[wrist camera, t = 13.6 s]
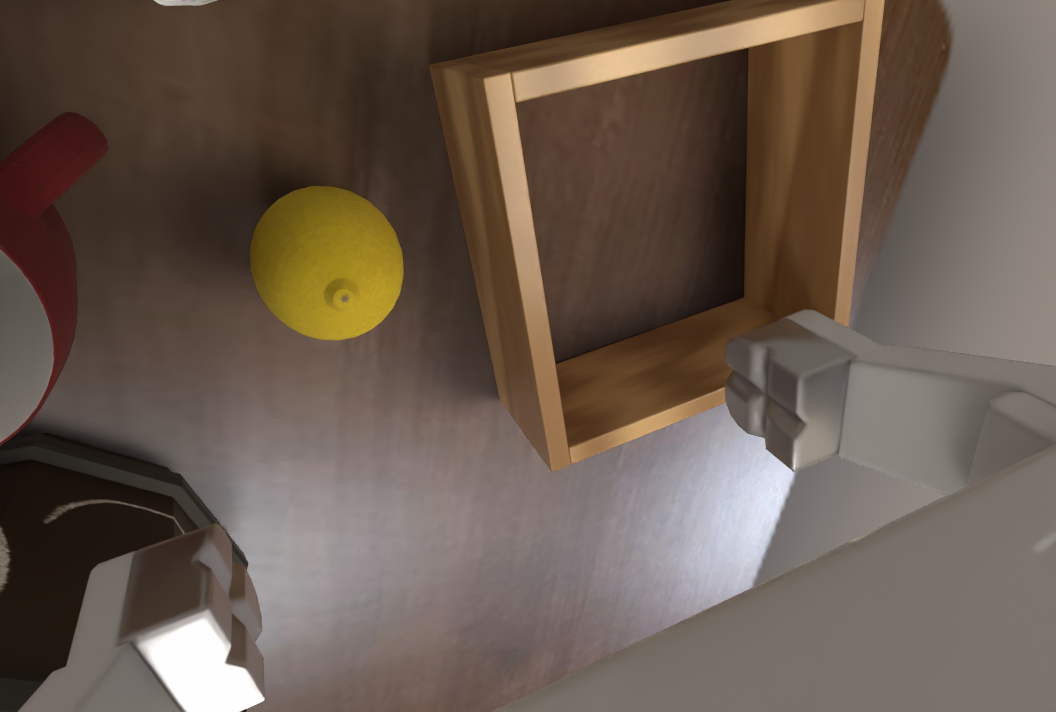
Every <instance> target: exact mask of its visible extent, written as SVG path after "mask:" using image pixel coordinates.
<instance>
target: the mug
mask: <svg viewBox="0 0 1056 712" xmlns="http://www.w3.org/2000/svg"><path fill="white" fill-rule="evenodd" d="M107 150H108V141H107V139H106V137H105V136H104V134H103V132H102V131H101V130H100V129H99V128H98V127H97V126H96V125H95V124H94V123H92V122H91V121H90V120H88V119H87V118H86V117H84V116H82V115H79V114H77V113H73V112H66V113H64V114H61V115H59V116H58V117H56V118H55V119H53V120H52V121H51V122H49V123H48V124H47V125H45V126H44V127H43V128H42V129H40V130H39V131H38V132H37V133H35V134H34V135H33V136H32V137H30V138H29V139H28V140H27V141H26V142H24V143H23V144H22V145H21V146H20V147H18V148H17V149H16V150H15V151H14V152H12V153H11V154H10V155H9V156H8V157H7V158H5V159H4V160H3V161H2V162H1V163H0V446H1V445H2V444H4V443H5V442H7V441H8V440H9V439H11V438H12V437H13V436H15V435H16V434H17V433H18V432H19V431H21V430H22V429H23V428H24V427H25V426H26V425H27V424H28V423H29V422H30V421H31V420H32V418H33V417H34V416H35V415H36V413H37V412H38V411H39V410H40V408H41V407H42V405H43V404H44V402H45V400H46V399H47V397H48V395H49V393H50V392H51V390H52V388H53V386H54V384H55V383H56V381H57V379H58V377H59V375H60V373H61V371H62V369H63V366H64V364H65V362H66V360H67V357H68V355H69V352H70V349H71V346H72V342H73V339H74V335H75V329H76V323H77V280H76V262H75V254H74V249H73V245H72V241H71V238H70V235H69V233H68V231H67V228H66V226H65V224H64V222H63V221H62V219H61V217H60V215H59V214H58V212H57V210H56V209H55V207H54V206H53V203H54V202H55V201H56V200H57V199H58V198H59V197H60V196H62V195H63V194H64V193H65V192H66V191H67V190H68V189H69V188H70V187H71V186H73V185H74V184H75V183H76V182H77V181H78V180H79V179H80V178H81V177H82V176H83V175H84V174H85V173H87V172H88V171H89V170H90V169H91V168H92V167H93V166H94V165H95V164H96V163H97V162H98V161H99V160H100V159H101V158H102V157H103V156H104V155H105V153H106V152H107Z"/></svg>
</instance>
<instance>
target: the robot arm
mask: <svg viewBox="0 0 1056 712" xmlns="http://www.w3.org/2000/svg"><path fill="white" fill-rule="evenodd" d="M725 362H726V363H727V364H728V365H729V366H730V367H731V368H732V371H731V373H730V375H729V376H728V378H727V380H726V382H725V401H726V404H727V406H728V409H729V411H730V414H731V416H732V417H733V419H734V420H735V421H736V423H737V424H738V425H739V426H740V427H741V428H742V429H743V430H744V431H745V432H747V433H748V434H751V435H755V436H759V437H763V438H765V444H766V449H767V450H768V451H769V452H770V453H772V454H773V455H774V456H775V457H777V458H778V459H779V460H780V461H781V462H783V463H784V464H785V465H786V466H787V467H789V468H790V469H791V470H792V471H793V472H796V471H798V470H801V469H803V468H805V467H808V466H811V465H813V464H816V463H818V462H821V461H823V460H826V459H828V458H831V457H833V456H836V455H838V454H839V457H840V458H843V459H846V460H848V461H851V462H854V463H857V464H860V465H863V466H866V467H868V468H871V469H874V470H877V471H880V472H882V473H885V474H888V475H891V476H894V477H897V478H899V479H902V480H905V481H908V482H911V483H914V484H917V485H919V486H922V487H925V488H928V489H931V490H934V491H936V492H939V493H942V494H945V495H947V496H945V497H943V498H941V499H939V500H936V501H934V502H932V503H930V504H928V505H926V506H924V507H922V508H920V509H917V510H915V511H913V512H911V513H909V514H907V515H905V516H903V517H901V518H898V519H896V520H894V521H892V522H890V523H888V524H886V525H884V526H882V527H879V528H877V529H875V530H873V531H871V532H869V533H867V534H865V535H863V536H860V537H858V538H856V539H854V540H852V541H850V542H848V543H846V544H844V545H841V546H839V547H838V548H835V549H833V550H831V551H829V552H827V553H825V554H822V555H820V556H818V557H816V558H814V559H812V560H810V561H808V562H806V563H803V564H801V565H799V566H797V567H795V568H793V569H791V570H789V571H787V572H784V573H782V574H780V575H778V576H776V577H774V578H772V579H770V580H768V581H766V582H763V583H761V584H759V585H757V586H755V587H753V588H751V589H749V590H746V591H744V592H742V593H740V594H738V595H736V596H734V597H732V598H730V599H727V600H725V601H723V602H721V603H719V604H717V605H715V606H713V607H711V608H709V609H706V610H704V611H702V612H700V613H698V614H696V615H694V616H692V617H690V618H687V619H685V620H683V621H681V622H679V623H677V624H675V625H673V626H671V627H668V628H666V629H664V630H662V631H660V632H658V633H656V634H654V635H652V636H649V637H647V638H645V639H643V640H641V641H639V642H637V643H635V644H633V645H631V646H628V647H626V648H624V649H622V650H620V651H618V652H616V653H614V654H612V655H609V656H607V657H605V658H603V659H601V660H599V661H597V662H595V663H593V664H590V665H588V666H586V667H584V668H582V669H580V670H578V671H576V672H574V673H571V674H569V675H567V676H565V677H563V678H561V679H559V680H557V681H555V682H553V683H550V684H548V685H546V686H544V687H542V688H540V689H538V690H536V691H534V692H531V693H529V694H527V695H525V696H523V697H521V698H519V699H517V700H515V701H512V702H510V703H508V704H506V705H504V706H502V707H500V708H498V709H496V710H493V711H491V712H1056V366H1051V365H1043V364H1036V363H1029V362H1021V361H1014V360H1007V359H999V358H992V357H984V356H977V355H970V354H963V353H955V352H948V351H941V350H933V349H926V348H919V347H911V346H903V345H896V344H890V345H888V346H885V347H884V346H882V345H880V344H878V343H876V342H874V341H872V340H871V339H869V338H867V337H865V336H863V335H861V334H859V333H857V332H855V331H853V330H851V329H849V328H848V327H846V326H844V325H842V324H840V323H838V322H836V321H834V320H832V319H830V318H828V317H826V316H825V315H823V314H821V313H819V312H817V311H815V310H807V309H804V310H802V311H799V312H796V313H794V314H791V315H789V316H786V317H784V318H781V319H779V321H776V322H774V323H771V324H768V325H765V326H763V327H760V328H757V329H754V330H752V331H749V332H746V333H744V334H741V335H738V336H735V337H733V338H730V339H728V342H727V344H726V347H725ZM261 632H262V622H261V612H260V607H259V603H258V598H257V594H256V591H255V588H254V586H253V583H252V581H251V578H250V576H249V574H248V572H247V571H246V569H245V567H244V566H243V565H240V564H238V563H235V562H233V561H232V543H231V541H230V540H229V538H228V536H227V535H226V533H225V531H224V530H223V528H222V527H221V526H220V525H218V524H216V523H215V524H212V525H209V526H206V527H203V528H200V529H198V530H195V531H192V532H189V533H186V534H183V535H180V536H177V537H174V538H171V539H168V540H165V541H162V542H159V543H156V544H153V545H150V546H147V547H144V548H141V549H139V550H138V551H133V552H130V553H128V554H125V555H122V556H119V557H116V558H113V559H111V560H108V561H105V562H102V563H99V564H98V565H97V566H96V567H95V568H94V569H93V570H92V571H91V573H90V576H89V579H88V583H87V587H86V591H85V595H84V599H83V603H82V606H81V610H80V614H79V618H78V622H77V626H76V630H75V634H74V637H73V641H72V645H71V649H70V653H69V657H68V661H67V664H66V667H64V668H61V669H59V670H56V671H54V672H52V673H51V674H50V675H49V677H48V678H47V679H46V680H45V681H44V682H43V683H42V685H41V686H40V687H39V688H38V689H37V690H36V691H35V692H34V694H33V695H32V696H31V697H30V698H29V699H28V700H27V702H26V703H25V704H24V705H23V706H22V707H21V708H20V710H19V711H18V712H241V711H243V710H245V709H247V708H249V707H251V706H254V705H256V704H258V703H260V702H262V701H264V700H265V690H264V663H263V656H262V655H261V653H260V651H259V649H258V648H257V646H256V644H255V641H256V640H257V638H258V637H259V635H260V633H261Z"/></svg>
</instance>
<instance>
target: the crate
mask: <svg viewBox="0 0 1056 712" xmlns="http://www.w3.org/2000/svg"><path fill="white" fill-rule="evenodd" d="M884 1H885V0H731V1H726V2H721V3H717V4H712V5H707V6H703V7H698V8H693V9H689V10H684V11H679V12H674V13H670V14H665V15H660V16H656V17H651V18H646V19H642V20H637V21H632V22H628V23H623V24H618V25H614V26H609V27H604V28H599V29H595V30H590V31H585V32H581V33H576V34H571V35H567V36H562V37H557V38H553V39H548V40H543V41H539V42H534V43H529V44H524V45H520V46H515V47H510V48H506V49H501V50H496V51H492V52H487V53H482V54H478V55H473V56H468V57H464V58H459V59H454V60H453V61H451V60H449V61H444V62H440V63H435V64H430V65H429V68H430V73H431V78H432V82H433V87H434V92H435V97H436V101H437V106H438V111H439V115H440V120H441V125H442V129H443V134H444V139H445V144H446V148H447V153H448V158H449V162H450V167H451V172H452V177H453V181H454V186H455V191H456V195H457V200H458V205H459V210H460V214H461V219H462V224H463V228H464V233H465V238H466V243H467V247H468V252H469V257H470V261H471V266H472V271H473V276H474V280H475V285H476V290H477V294H478V299H479V304H480V309H481V313H482V318H483V323H484V327H485V332H486V337H487V342H488V346H489V351H490V356H491V360H492V365H493V370H494V375H495V379H496V384H497V389H498V393H499V398H500V400H501V402H502V403H503V404H504V406H505V407H506V409H507V410H508V411H509V413H510V414H511V416H512V417H513V418H514V420H515V421H516V423H517V424H518V425H519V427H520V428H521V430H522V431H523V432H524V434H525V435H526V437H527V438H528V439H529V441H530V442H531V444H532V445H533V447H534V448H535V449H536V451H537V452H538V454H539V455H540V456H541V458H542V459H543V461H544V462H545V463H546V465H547V466H548V468H549V469H550V470H551V472H554V471H556V470H559V469H561V468H564V467H566V466H569V465H571V464H573V463H576V462H578V461H581V460H583V459H586V458H588V457H591V456H593V455H596V454H598V453H601V452H603V451H606V450H608V449H611V448H613V447H616V446H618V445H621V444H623V443H626V442H628V441H631V440H633V439H636V438H638V437H641V436H643V435H646V434H648V433H651V432H653V431H656V430H658V429H661V428H663V427H666V426H668V425H671V424H673V423H676V422H678V421H681V420H683V419H686V418H688V417H691V416H693V415H696V414H698V413H701V412H703V411H706V410H708V409H711V408H714V407H716V406H719V405H721V404H724V403H726V401H725V382H726V380H727V378H728V376H729V375H730V373H731V371H732V368H731V367H730V366H729V365H728V364H727V363H726V362H725V347H726V344H727V342H728V339H730V338H733V337H735V336H738V335H741V334H744V333H746V332H749V331H752V330H754V329H757V328H760V327H763V326H765V325H768V324H771V323H774V322H776V321H779V319H781V318H784V317H786V316H789V315H791V314H794V313H796V312H799V311H802V310H804V309H807V310H815V311H817V312H819V313H821V314H823V315H825V316H826V317H828V318H830V319H832V320H834V321H836V322H838V323H840V324H842V325H844V326H846V327H848V326H849V317H850V308H851V299H852V290H853V281H854V272H855V263H856V254H857V245H858V236H859V227H860V218H861V209H862V200H863V191H864V181H865V172H866V163H867V154H868V145H869V136H870V127H871V118H872V109H873V100H874V91H875V82H876V73H877V64H878V55H879V46H880V37H881V28H882V19H883V10H884ZM745 48H748V100H747V157H746V214H745V270H744V298H741V299H738V300H736V301H733V302H730V303H727V304H724V305H722V306H719V307H716V308H713V309H710V310H707V311H705V312H702V313H699V314H696V315H693V316H690V317H688V318H685V319H682V320H679V321H676V322H673V323H671V324H668V325H665V326H662V327H659V328H656V329H654V330H651V331H648V332H645V333H642V334H639V335H637V336H634V337H631V338H628V339H625V340H622V341H620V342H617V343H614V344H611V345H608V346H605V347H603V348H600V349H597V350H594V351H591V352H589V353H586V354H583V355H580V356H577V357H574V358H572V359H569V360H566V361H563V362H560V363H557V364H555V359H554V352H553V346H552V339H551V333H550V326H549V320H548V313H547V307H546V300H545V294H544V287H543V281H542V275H541V268H540V262H539V255H538V249H537V242H536V236H535V229H534V223H533V216H532V210H531V203H530V197H529V190H528V184H527V177H526V171H525V164H524V158H523V151H522V145H521V139H520V132H519V126H518V119H517V113H516V106H515V102H517V103H518V102H522V101H526V100H530V99H535V98H539V97H543V96H547V95H551V94H556V93H560V92H564V91H568V90H573V89H577V88H581V87H585V86H589V85H594V84H598V83H602V82H606V81H610V80H615V79H619V78H623V77H627V76H632V75H636V74H640V73H644V72H648V71H653V70H657V69H661V68H665V67H669V66H674V65H678V64H682V63H686V62H691V61H695V60H699V59H703V58H707V57H712V56H716V55H720V54H724V53H728V52H733V51H737V50H741V49H745Z"/></svg>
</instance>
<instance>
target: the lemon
mask: <svg viewBox="0 0 1056 712" xmlns="http://www.w3.org/2000/svg"><path fill="white" fill-rule="evenodd" d="M250 265H251V273H252V276H253V279H254V282H255V285H256V289H257V291H258V293H259V295H260V296H261V298H262V299H263V301H264V302H265V304H266V305H267V307H268V308H269V310H270V311H271V312H272V313H273V314H274V315H275V316H276V317H278V318H279V319H280V320H281V321H282V322H283V323H284V324H285V325H287V326H288V327H290V328H292V329H294V330H296V331H297V332H299V333H301V334H303V335H305V336H309V337H313V338H317V339H321V340H343V339H348V338H353V337H356V336H359V335H361V334H363V333H365V332H368V331H370V330H371V329H372V328H374V327H375V326H376V325H378V324H379V323H380V322H382V321H383V319H384V318H385V317H386V316H387V315H388V313H389V312H390V311H391V310H392V308H393V307H394V305H395V303H396V301H397V298H398V296H399V294H400V291H401V286H402V280H403V275H404V270H403V255H402V250H401V247H400V244H399V242H398V239H397V236H396V233H395V231H394V229H393V228H392V226H391V225H390V223H389V222H388V220H387V219H386V217H385V216H384V215H383V214H382V213H381V212H380V211H379V210H378V209H377V208H376V207H375V206H374V205H372V204H371V203H370V202H369V201H368V200H366V199H364V198H362V197H361V196H359V195H357V194H355V193H353V192H351V191H349V190H344V189H340V188H336V187H332V186H310V187H306V188H302V189H298V190H294V191H292V192H291V193H289V194H287V195H285V196H283V197H282V198H280V199H278V200H277V201H276V202H275V203H274V204H273V205H272V206H271V207H270V208H269V209H268V210H267V211H266V212H265V213H264V214H263V216H262V218H261V220H260V221H259V223H258V225H257V226H256V228H255V231H254V235H253V239H252V243H251V247H250Z"/></svg>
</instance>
